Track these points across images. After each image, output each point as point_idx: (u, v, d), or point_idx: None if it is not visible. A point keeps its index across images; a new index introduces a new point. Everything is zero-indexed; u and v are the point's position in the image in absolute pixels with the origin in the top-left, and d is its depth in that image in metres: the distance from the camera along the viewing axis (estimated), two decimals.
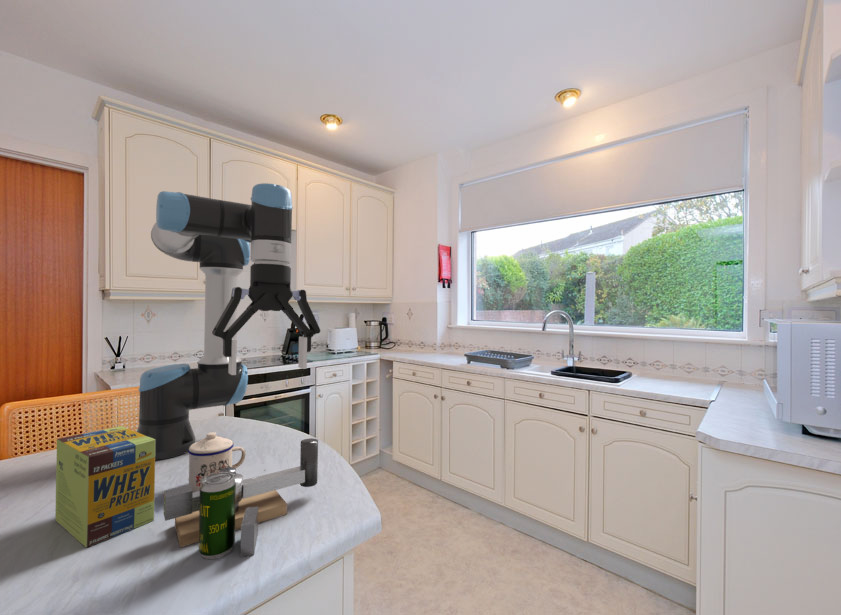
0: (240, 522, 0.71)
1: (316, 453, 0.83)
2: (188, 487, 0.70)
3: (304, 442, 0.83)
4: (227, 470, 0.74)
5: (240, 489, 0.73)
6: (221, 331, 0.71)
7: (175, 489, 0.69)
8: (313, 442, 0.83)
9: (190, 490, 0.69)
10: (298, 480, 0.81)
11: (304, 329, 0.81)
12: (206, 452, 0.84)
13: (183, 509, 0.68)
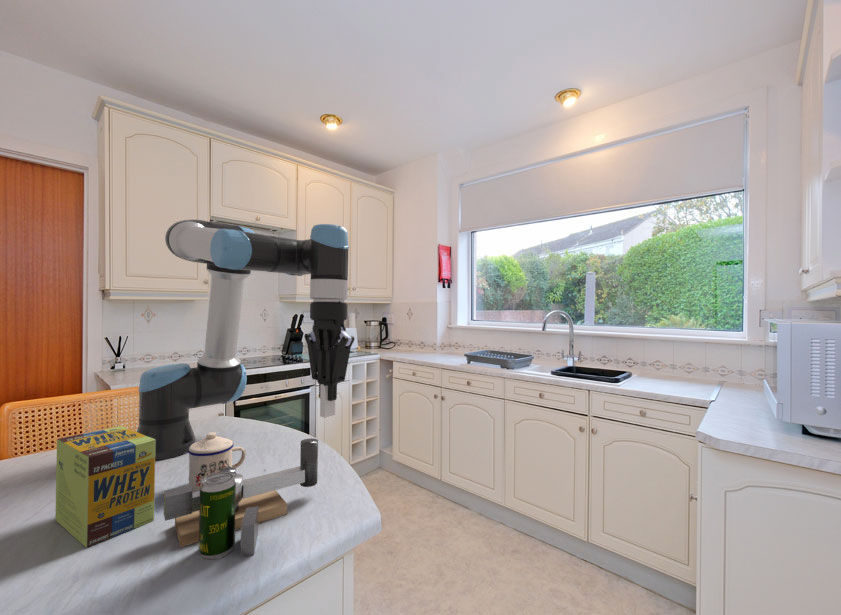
0: (240, 522, 0.71)
1: (316, 453, 0.83)
2: (188, 487, 0.70)
3: (304, 442, 0.83)
4: (227, 470, 0.74)
5: (240, 489, 0.73)
6: None
7: (175, 489, 0.69)
8: (313, 442, 0.83)
9: (190, 490, 0.69)
10: (298, 480, 0.81)
11: None
12: (206, 452, 0.84)
13: (183, 509, 0.68)
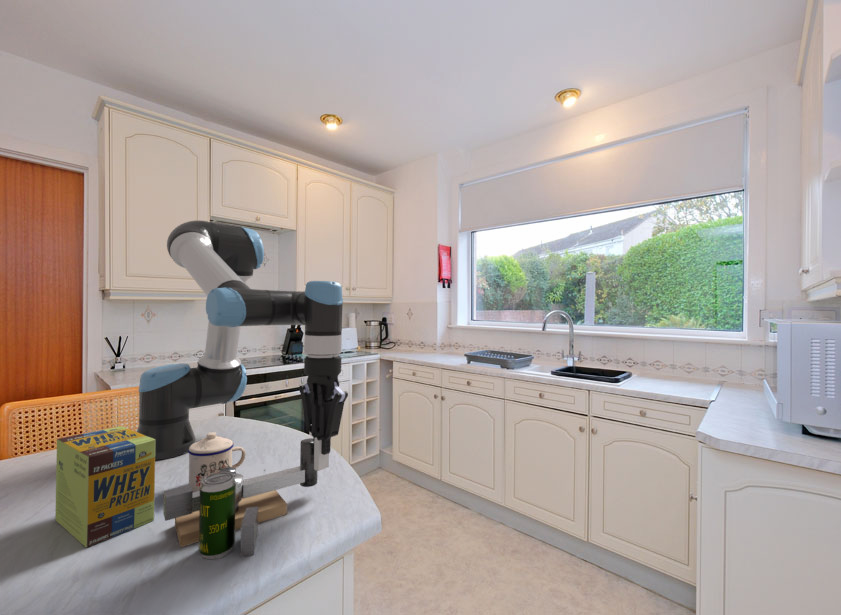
0: (240, 522, 0.71)
1: None
2: (188, 487, 0.70)
3: (304, 442, 0.83)
4: (227, 470, 0.74)
5: (240, 489, 0.73)
6: None
7: (175, 489, 0.69)
8: None
9: (190, 490, 0.69)
10: (298, 480, 0.81)
11: None
12: (206, 452, 0.84)
13: (183, 509, 0.68)
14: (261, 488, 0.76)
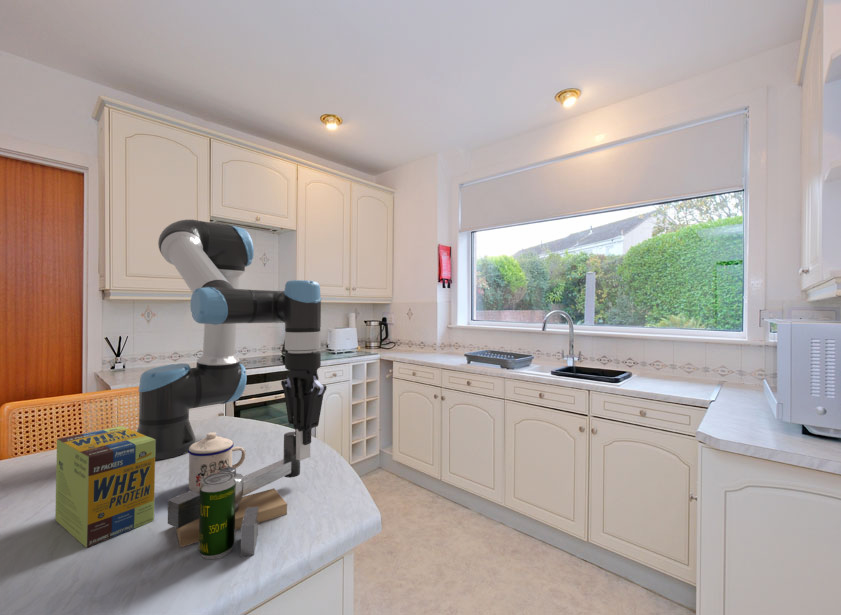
0: (240, 522, 0.71)
1: None
2: (193, 492, 0.68)
3: (288, 435, 0.87)
4: (227, 470, 0.74)
5: (242, 486, 0.74)
6: None
7: (180, 496, 0.67)
8: None
9: (199, 494, 0.68)
10: (286, 472, 0.85)
11: None
12: (206, 452, 0.84)
13: (194, 514, 0.67)
14: (257, 483, 0.78)
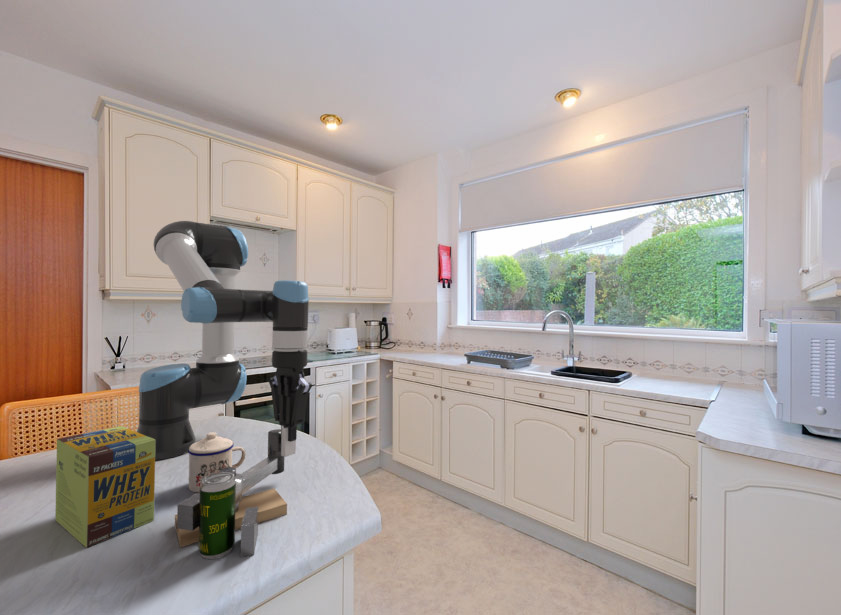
0: (240, 522, 0.71)
1: None
2: None
3: (274, 433, 0.88)
4: (227, 470, 0.74)
5: None
6: None
7: (188, 499, 0.66)
8: None
9: None
10: (273, 468, 0.86)
11: None
12: (206, 452, 0.84)
13: None
14: (252, 481, 0.79)
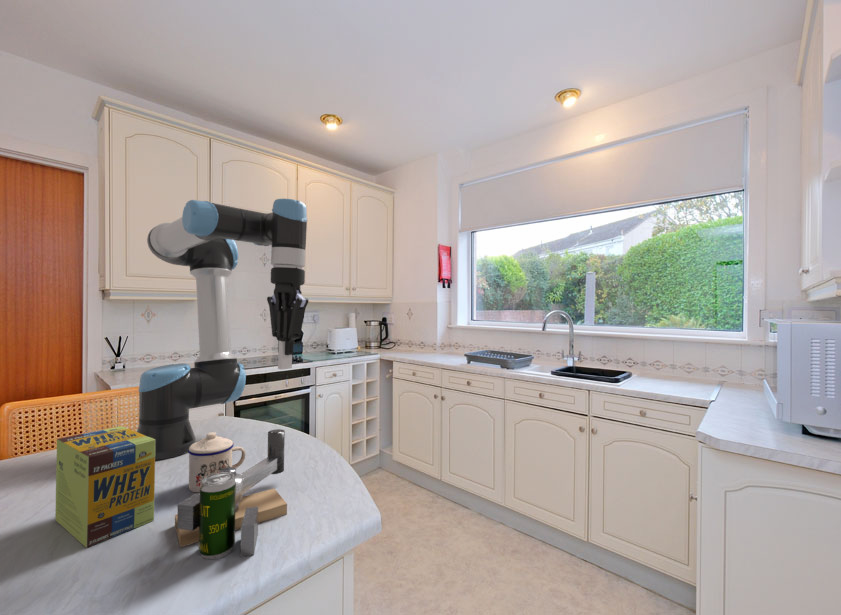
0: (240, 522, 0.71)
1: None
2: None
3: (273, 433, 0.88)
4: (227, 470, 0.74)
5: None
6: None
7: (188, 499, 0.66)
8: (281, 431, 0.90)
9: None
10: (273, 468, 0.86)
11: None
12: (206, 452, 0.84)
13: None
14: (252, 481, 0.79)
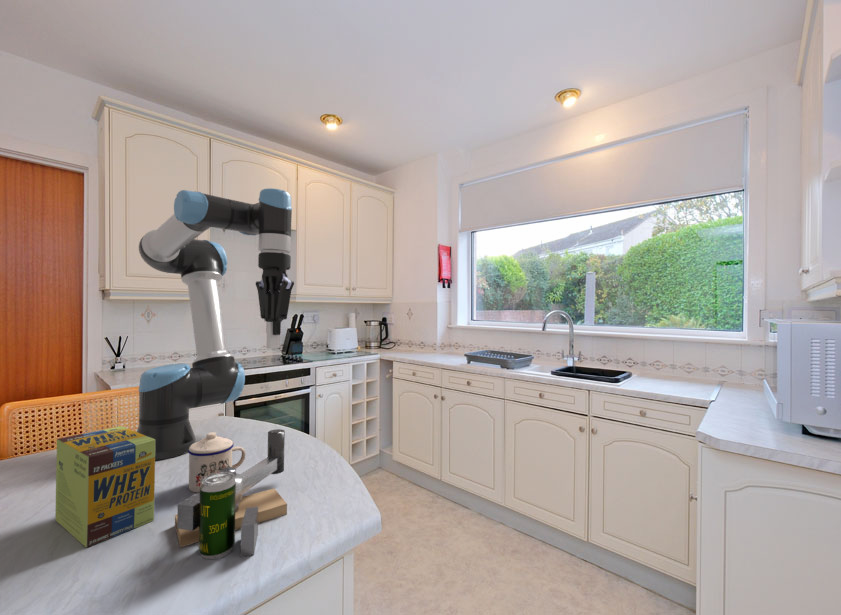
0: (240, 522, 0.71)
1: None
2: None
3: (273, 433, 0.88)
4: (227, 470, 0.74)
5: None
6: None
7: (188, 499, 0.66)
8: (281, 431, 0.90)
9: None
10: (273, 468, 0.86)
11: None
12: (206, 452, 0.84)
13: None
14: (252, 481, 0.79)
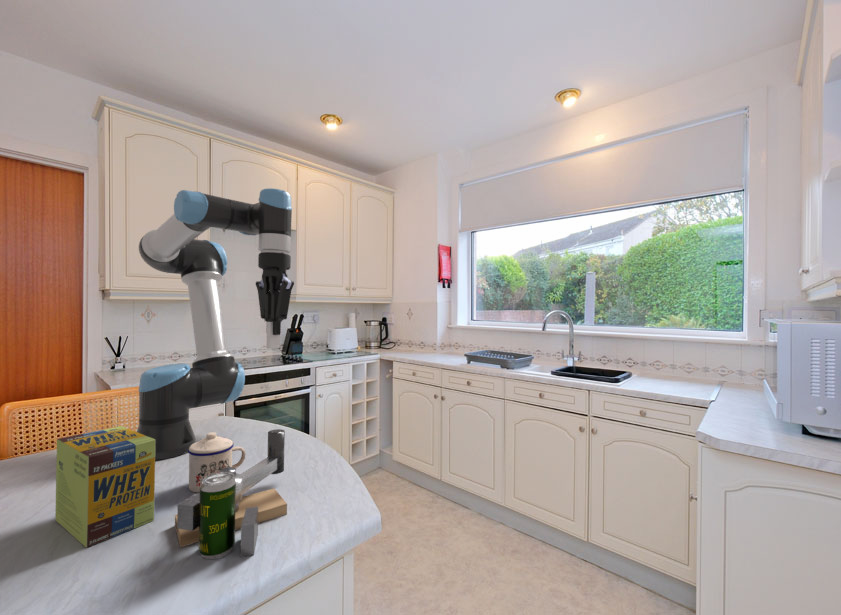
0: (240, 522, 0.71)
1: None
2: None
3: (273, 433, 0.88)
4: (227, 470, 0.74)
5: None
6: None
7: (188, 499, 0.66)
8: (281, 431, 0.90)
9: None
10: (273, 468, 0.86)
11: None
12: (206, 452, 0.84)
13: None
14: (252, 481, 0.79)
